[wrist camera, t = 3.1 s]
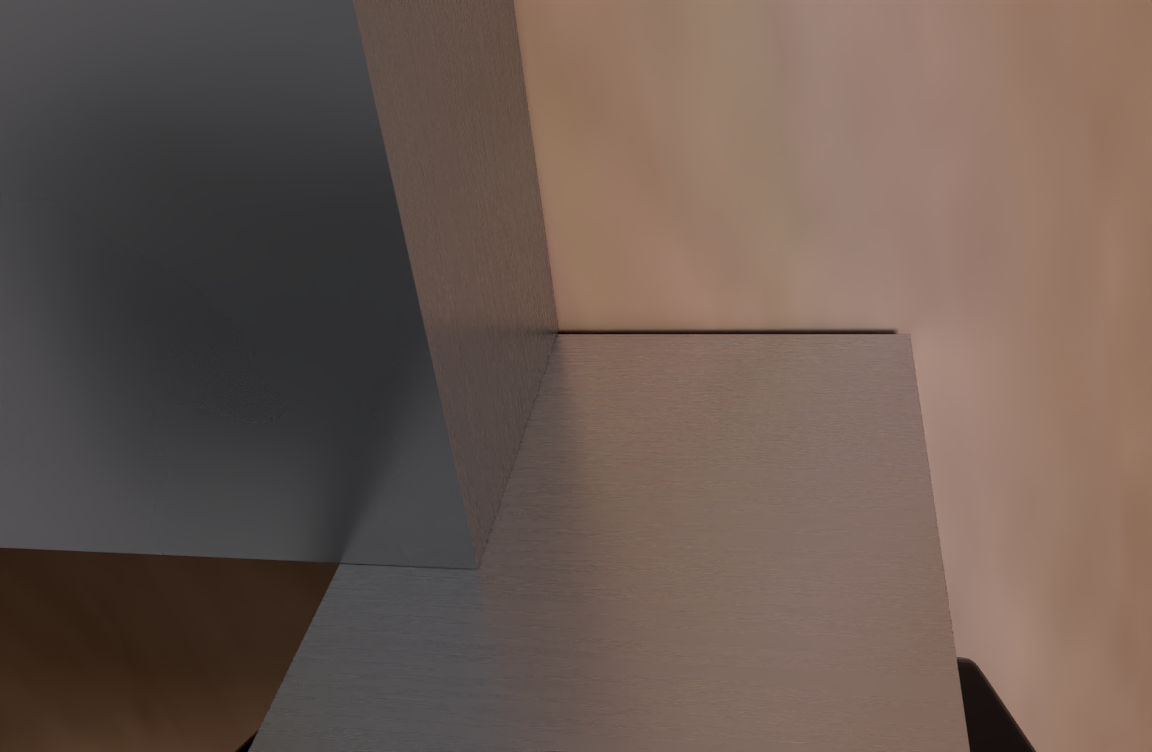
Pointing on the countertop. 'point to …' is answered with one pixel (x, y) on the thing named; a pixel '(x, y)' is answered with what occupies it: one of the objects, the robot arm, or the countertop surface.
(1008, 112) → the countertop surface
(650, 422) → the grey rectangular block
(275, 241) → the gray yellow fixture base
